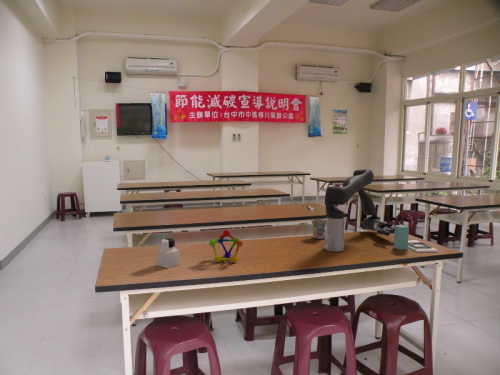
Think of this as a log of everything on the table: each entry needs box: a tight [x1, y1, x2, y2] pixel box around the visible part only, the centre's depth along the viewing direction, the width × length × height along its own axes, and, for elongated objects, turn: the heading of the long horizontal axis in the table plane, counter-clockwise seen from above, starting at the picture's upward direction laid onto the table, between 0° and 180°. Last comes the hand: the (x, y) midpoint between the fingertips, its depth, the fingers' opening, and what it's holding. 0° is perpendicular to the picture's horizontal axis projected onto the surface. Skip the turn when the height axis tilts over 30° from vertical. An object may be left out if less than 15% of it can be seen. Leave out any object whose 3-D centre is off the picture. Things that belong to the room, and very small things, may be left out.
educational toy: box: [208, 229, 244, 264], centre depth 166 cm, size 16×13×15 cm
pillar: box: [393, 224, 410, 251], centre depth 185 cm, size 5×5×12 cm
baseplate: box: [408, 239, 439, 253], centre depth 188 cm, size 11×20×2 cm, turn 4°
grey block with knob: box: [156, 237, 180, 269], centre depth 158 cm, size 7×7×12 cm
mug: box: [311, 218, 326, 240], centre depth 208 cm, size 12×9×11 cm
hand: (396, 233), depth 190 cm, fingers open, 8 cm apart
